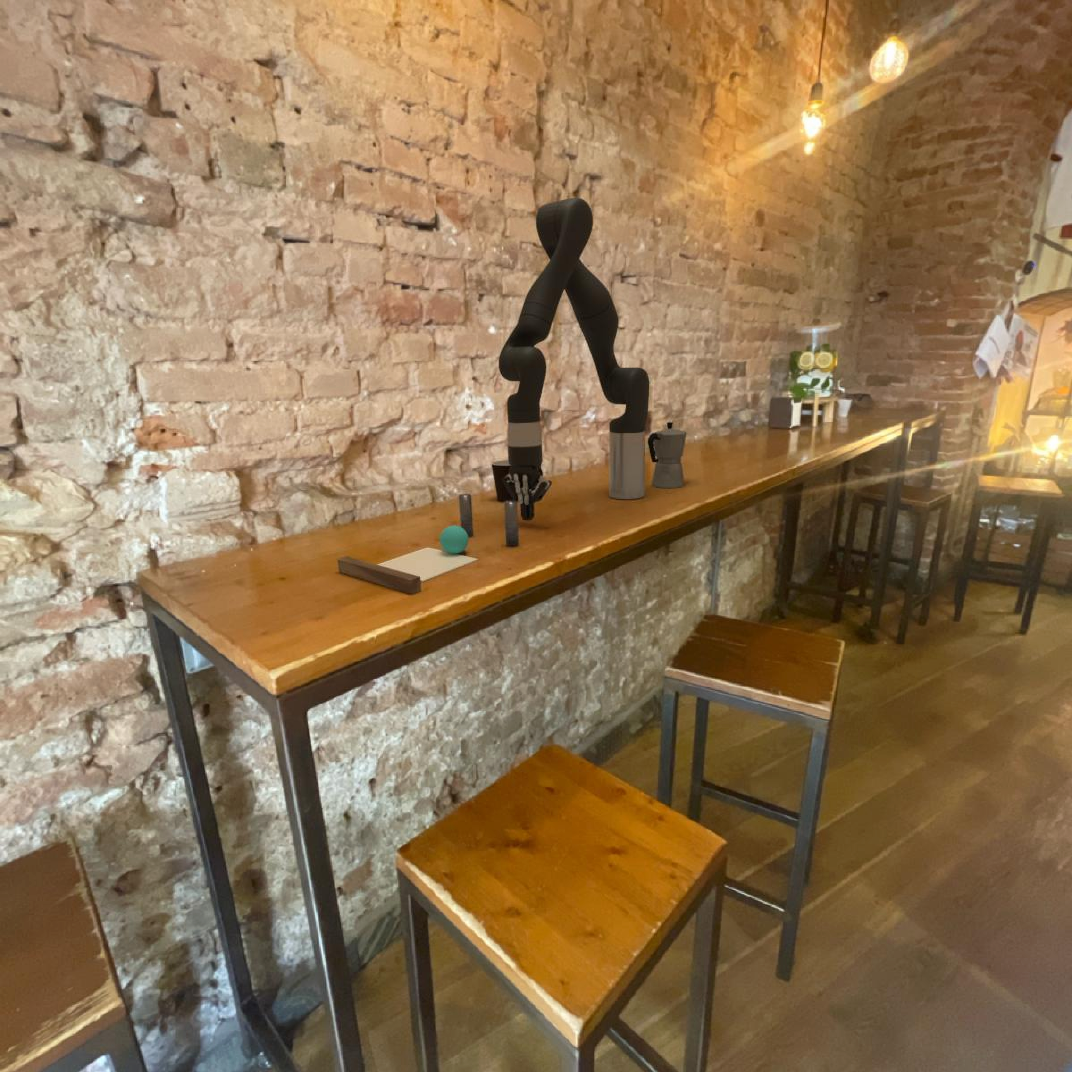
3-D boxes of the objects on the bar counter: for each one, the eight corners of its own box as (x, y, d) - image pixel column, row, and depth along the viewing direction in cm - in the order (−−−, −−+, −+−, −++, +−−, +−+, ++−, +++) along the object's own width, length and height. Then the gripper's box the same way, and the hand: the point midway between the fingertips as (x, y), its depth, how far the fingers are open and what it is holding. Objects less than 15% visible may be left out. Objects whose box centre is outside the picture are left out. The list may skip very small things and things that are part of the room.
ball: (437, 521, 120) (430, 549, 120) (458, 525, 117) (451, 553, 116) (456, 526, 125) (449, 553, 124) (477, 530, 121) (470, 558, 121)
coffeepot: (669, 479, 184) (671, 419, 179) (695, 484, 177) (698, 420, 172) (634, 487, 175) (635, 423, 170) (660, 492, 168) (662, 426, 163)
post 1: (467, 533, 135) (464, 493, 132) (475, 535, 133) (473, 494, 131) (458, 536, 133) (456, 495, 130) (467, 538, 131) (464, 496, 129)
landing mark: (427, 548, 125) (427, 547, 125) (478, 560, 117) (477, 559, 117) (371, 567, 115) (371, 566, 114) (422, 581, 106) (422, 580, 106)
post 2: (511, 542, 127) (509, 499, 125) (521, 544, 126) (519, 501, 123) (503, 545, 125) (501, 502, 123) (513, 547, 124) (511, 504, 121)
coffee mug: (497, 504, 160) (495, 466, 157) (490, 497, 168) (488, 461, 165) (539, 500, 163) (538, 463, 160) (531, 494, 171) (530, 458, 168)
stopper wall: (348, 569, 114) (346, 556, 113) (421, 590, 102) (420, 576, 101) (339, 572, 113) (337, 559, 112) (412, 594, 101) (410, 580, 100)
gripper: (559, 442, 133) (561, 519, 137) (512, 438, 140) (515, 512, 145) (538, 446, 127) (540, 527, 132) (490, 443, 135) (494, 519, 140)
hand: (527, 519), depth 139 cm, fingers closed
